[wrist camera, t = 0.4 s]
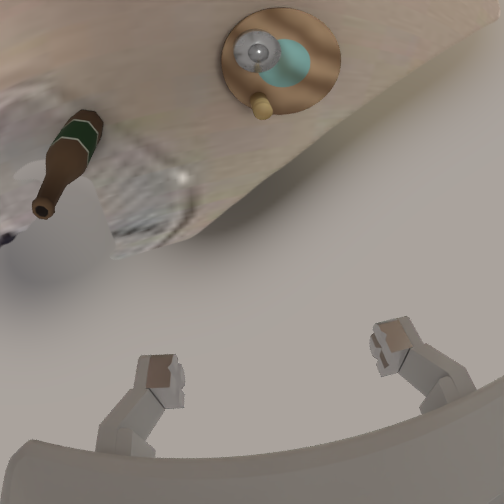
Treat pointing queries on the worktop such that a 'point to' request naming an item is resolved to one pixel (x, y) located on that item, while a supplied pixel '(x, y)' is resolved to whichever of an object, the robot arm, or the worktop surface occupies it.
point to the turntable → (285, 63)
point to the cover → (256, 50)
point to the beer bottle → (67, 159)
